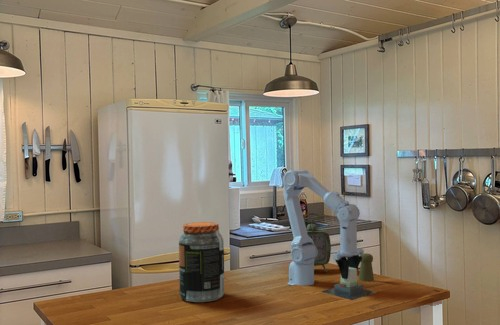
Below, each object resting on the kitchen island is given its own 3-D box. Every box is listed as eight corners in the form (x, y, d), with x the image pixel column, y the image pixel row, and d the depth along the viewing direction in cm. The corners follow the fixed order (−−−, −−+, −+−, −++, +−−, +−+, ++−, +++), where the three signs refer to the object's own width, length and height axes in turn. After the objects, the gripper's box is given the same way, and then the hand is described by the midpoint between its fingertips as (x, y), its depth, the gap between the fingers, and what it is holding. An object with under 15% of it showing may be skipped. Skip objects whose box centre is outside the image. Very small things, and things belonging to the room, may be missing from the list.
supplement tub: (232, 294, 178) (232, 222, 177) (208, 306, 164) (207, 228, 164) (196, 289, 185) (195, 219, 185) (170, 300, 171) (169, 225, 171)
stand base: (320, 294, 177) (320, 282, 177) (346, 287, 186) (346, 275, 186) (351, 303, 166) (351, 290, 166) (377, 295, 175) (377, 283, 175)
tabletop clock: (296, 274, 207) (295, 214, 206) (294, 269, 216) (293, 212, 216) (331, 273, 207) (330, 214, 207) (327, 268, 216) (327, 211, 216)
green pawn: (374, 284, 190) (374, 255, 189) (358, 283, 191) (358, 255, 191) (373, 280, 196) (373, 252, 195) (358, 279, 197) (358, 252, 197)
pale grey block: (340, 286, 176) (340, 268, 176) (348, 284, 179) (347, 266, 179) (349, 289, 173) (349, 270, 173) (357, 286, 175) (357, 268, 175)
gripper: (343, 243, 168) (344, 283, 168) (370, 238, 177) (370, 276, 177) (328, 240, 173) (328, 279, 173) (354, 235, 182) (354, 272, 183)
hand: (348, 277), depth 176 cm, fingers closed on pale grey block, 4 cm apart
